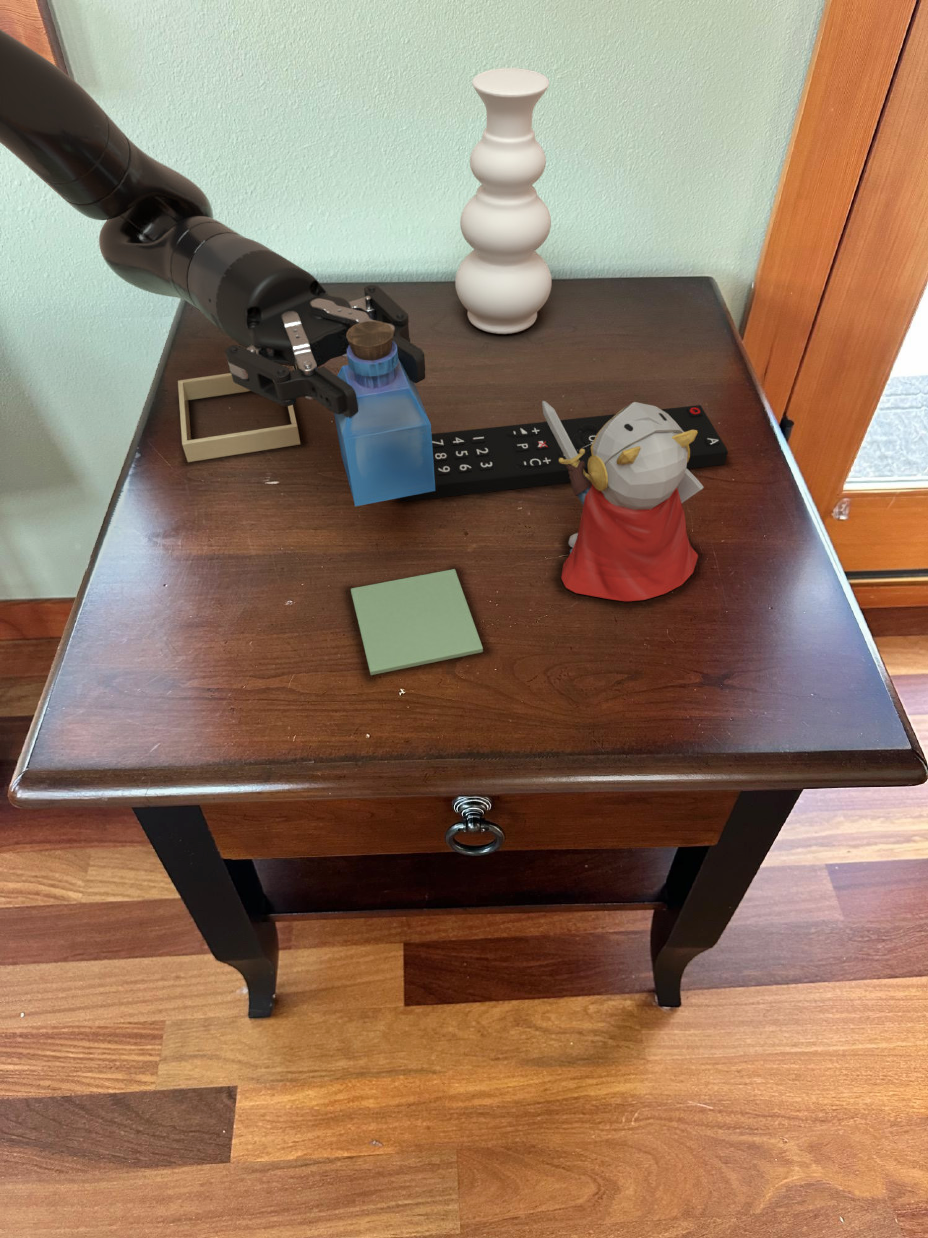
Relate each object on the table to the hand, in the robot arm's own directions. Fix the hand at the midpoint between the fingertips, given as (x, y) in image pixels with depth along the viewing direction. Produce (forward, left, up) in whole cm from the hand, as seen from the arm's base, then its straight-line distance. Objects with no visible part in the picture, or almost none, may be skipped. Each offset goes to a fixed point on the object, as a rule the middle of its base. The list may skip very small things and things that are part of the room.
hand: (387, 386), depth 58 cm
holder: (-12, +25, -18) cm, 33 cm away
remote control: (+18, +11, -18) cm, 28 cm away
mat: (0, -6, -18) cm, 19 cm away
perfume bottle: (0, +1, -9) cm, 9 cm away
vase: (+20, +37, -18) cm, 46 cm away
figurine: (+19, -3, -18) cm, 26 cm away
